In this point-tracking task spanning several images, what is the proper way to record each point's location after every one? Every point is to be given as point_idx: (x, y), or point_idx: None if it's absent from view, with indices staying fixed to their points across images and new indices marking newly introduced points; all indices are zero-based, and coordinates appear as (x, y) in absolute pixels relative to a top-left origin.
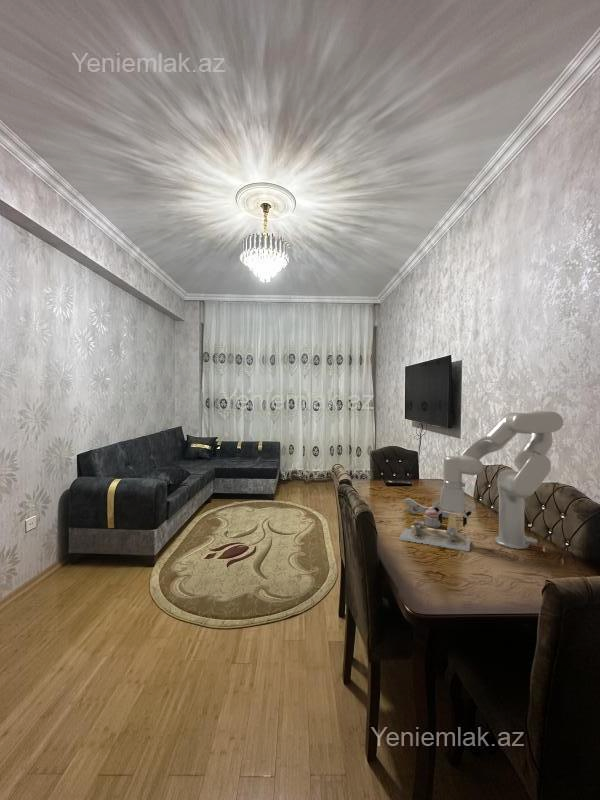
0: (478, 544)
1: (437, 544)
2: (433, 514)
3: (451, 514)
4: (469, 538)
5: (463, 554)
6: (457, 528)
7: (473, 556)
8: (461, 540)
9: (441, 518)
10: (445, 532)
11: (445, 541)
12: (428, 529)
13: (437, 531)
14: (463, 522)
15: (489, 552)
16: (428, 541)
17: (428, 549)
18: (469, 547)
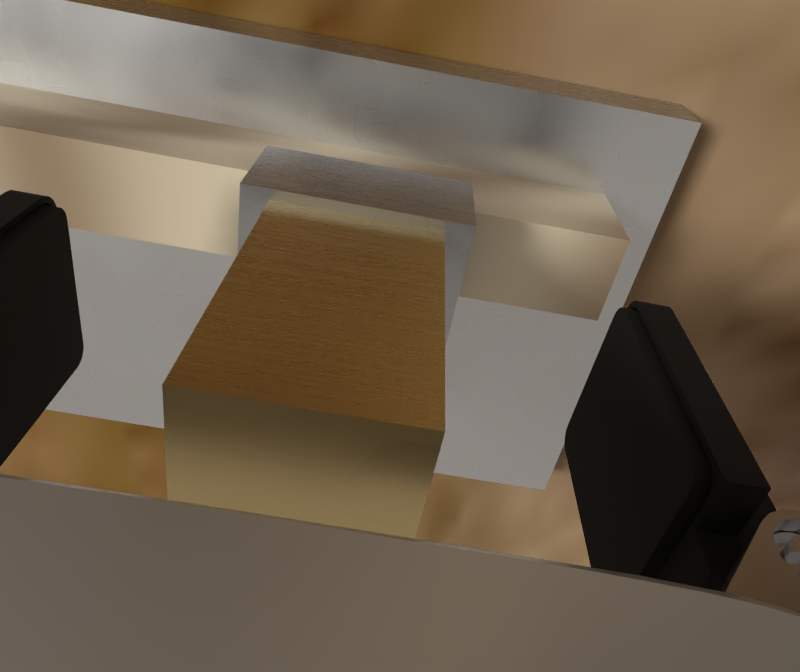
0: (779, 186)
1: None
2: None
3: (256, 403)
4: (685, 129)
5: (456, 520)
6: (461, 266)
7: (548, 540)
8: None
9: (9, 443)
10: (232, 252)
11: None
12: None
13: (83, 223)
14: (590, 518)
15: (788, 422)
16: (52, 408)
17: (107, 488)
18: (557, 450)
